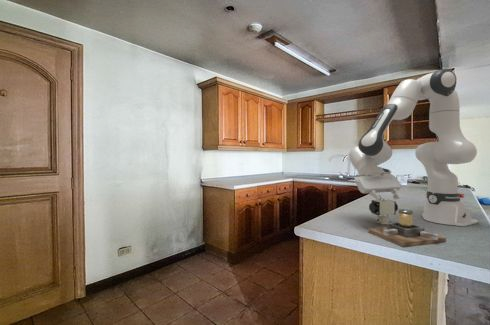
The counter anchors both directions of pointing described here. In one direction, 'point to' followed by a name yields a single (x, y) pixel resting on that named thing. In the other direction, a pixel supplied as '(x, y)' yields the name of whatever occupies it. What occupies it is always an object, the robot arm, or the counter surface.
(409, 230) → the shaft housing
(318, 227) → the counter surface
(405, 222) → the amber cylinder
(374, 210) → the pneumatic valve
